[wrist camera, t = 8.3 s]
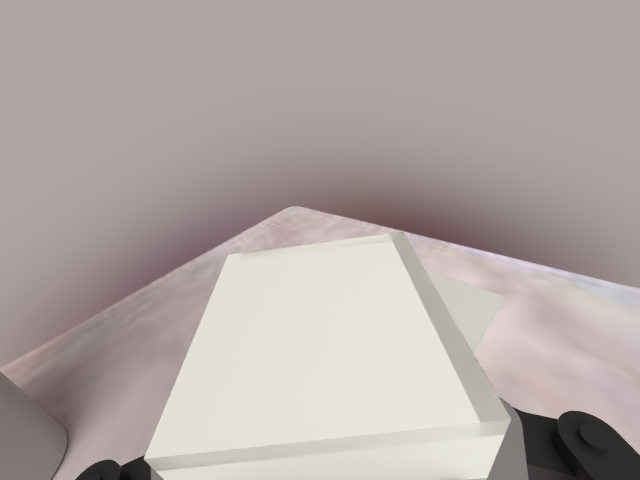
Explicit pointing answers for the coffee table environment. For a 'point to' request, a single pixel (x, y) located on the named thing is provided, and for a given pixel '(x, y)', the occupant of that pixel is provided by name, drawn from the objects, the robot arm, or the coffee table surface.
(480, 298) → the grey mat
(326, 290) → the white rectangular block
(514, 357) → the coffee table surface
